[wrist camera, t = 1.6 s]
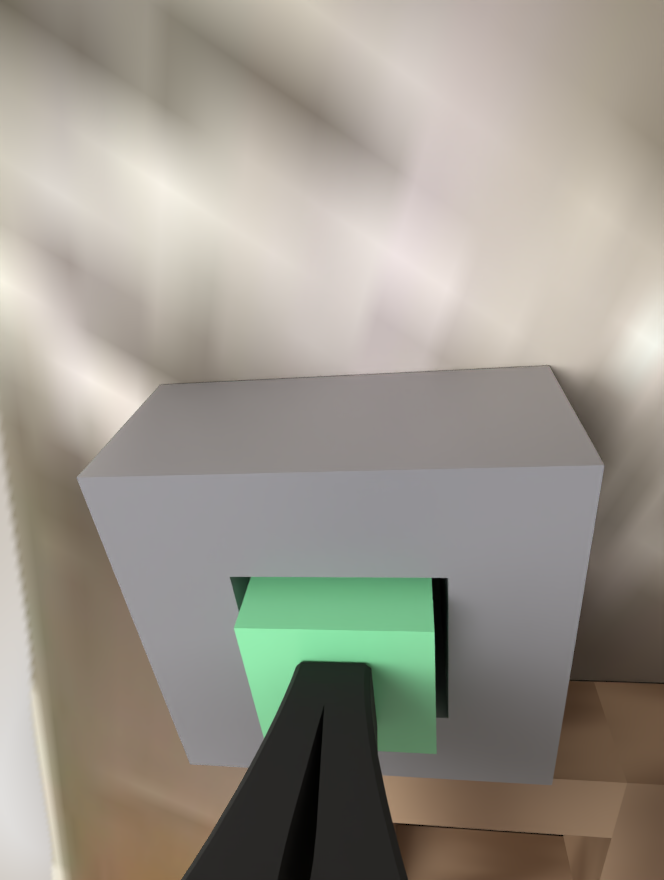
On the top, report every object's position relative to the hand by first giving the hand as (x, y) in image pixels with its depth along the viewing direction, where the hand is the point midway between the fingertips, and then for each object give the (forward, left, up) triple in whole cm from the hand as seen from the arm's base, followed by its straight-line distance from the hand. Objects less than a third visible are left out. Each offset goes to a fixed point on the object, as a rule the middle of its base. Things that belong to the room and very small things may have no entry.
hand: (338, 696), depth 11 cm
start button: (0, 0, -3) cm, 3 cm away
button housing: (0, 0, -5) cm, 5 cm away
